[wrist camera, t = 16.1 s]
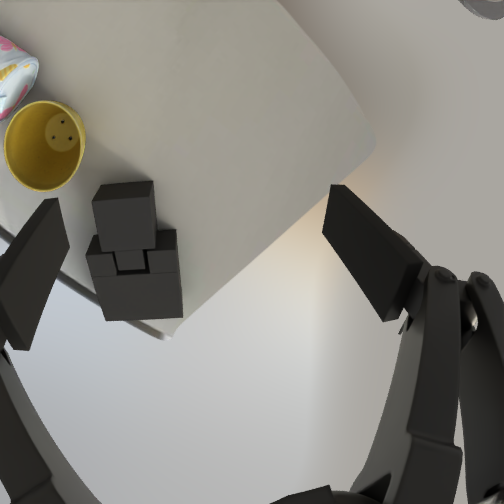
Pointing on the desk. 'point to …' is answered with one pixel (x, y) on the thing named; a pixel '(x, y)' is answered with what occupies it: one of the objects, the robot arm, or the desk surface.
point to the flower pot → (44, 145)
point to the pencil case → (14, 76)
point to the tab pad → (126, 221)
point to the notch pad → (138, 282)
